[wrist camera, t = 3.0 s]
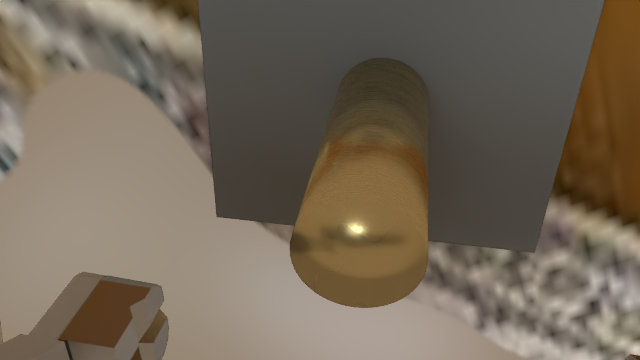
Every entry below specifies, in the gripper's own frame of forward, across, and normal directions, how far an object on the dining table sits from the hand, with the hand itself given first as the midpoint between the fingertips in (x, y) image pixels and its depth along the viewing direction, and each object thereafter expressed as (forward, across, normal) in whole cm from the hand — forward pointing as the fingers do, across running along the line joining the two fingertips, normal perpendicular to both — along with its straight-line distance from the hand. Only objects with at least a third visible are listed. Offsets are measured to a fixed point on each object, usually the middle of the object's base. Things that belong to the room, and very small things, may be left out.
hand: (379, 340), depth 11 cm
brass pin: (+10, +1, 0) cm, 11 cm away
